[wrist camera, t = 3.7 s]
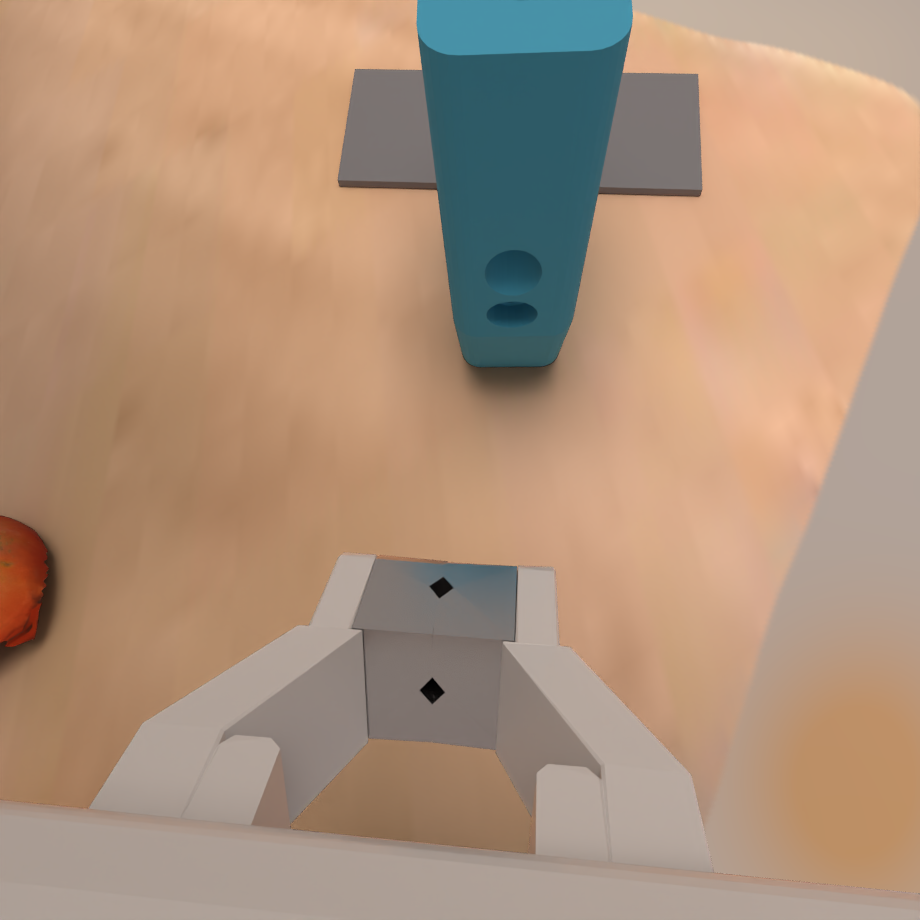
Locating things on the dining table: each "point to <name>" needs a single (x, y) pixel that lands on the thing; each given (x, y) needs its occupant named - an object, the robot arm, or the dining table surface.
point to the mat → (626, 162)
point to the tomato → (20, 581)
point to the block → (519, 159)
